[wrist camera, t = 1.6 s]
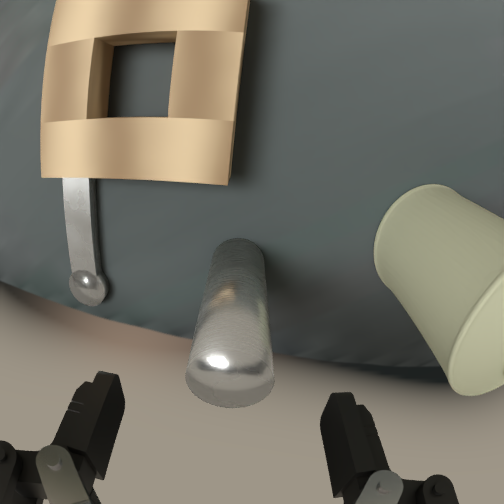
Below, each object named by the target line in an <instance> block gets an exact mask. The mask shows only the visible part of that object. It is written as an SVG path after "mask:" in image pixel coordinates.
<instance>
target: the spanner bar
mask: <svg viewBox="0 0 504 504" xmlns="http://www.w3.org/2000/svg"><path fill="white" fill-rule="evenodd" d="M63 194H64V209H65V220H66V230H67V239H68V247H69V255H70V262H71V268H72V275H71V276H70V279H69V286H70V289H71V292H72V294H73V295H74V297H75V298H76V299H77V300H78V301H80V302H81V303H83V304H85V305H88V306H96V305H98V304H100V303H101V302H102V301H103V299H104V298H105V296H106V295H107V293H108V291H109V283H108V280H107V277H106V276H105V274H104V273H103V272H102V270H101V261H100V251H99V240H98V227H97V212H96V190H95V178H63Z"/></svg>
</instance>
